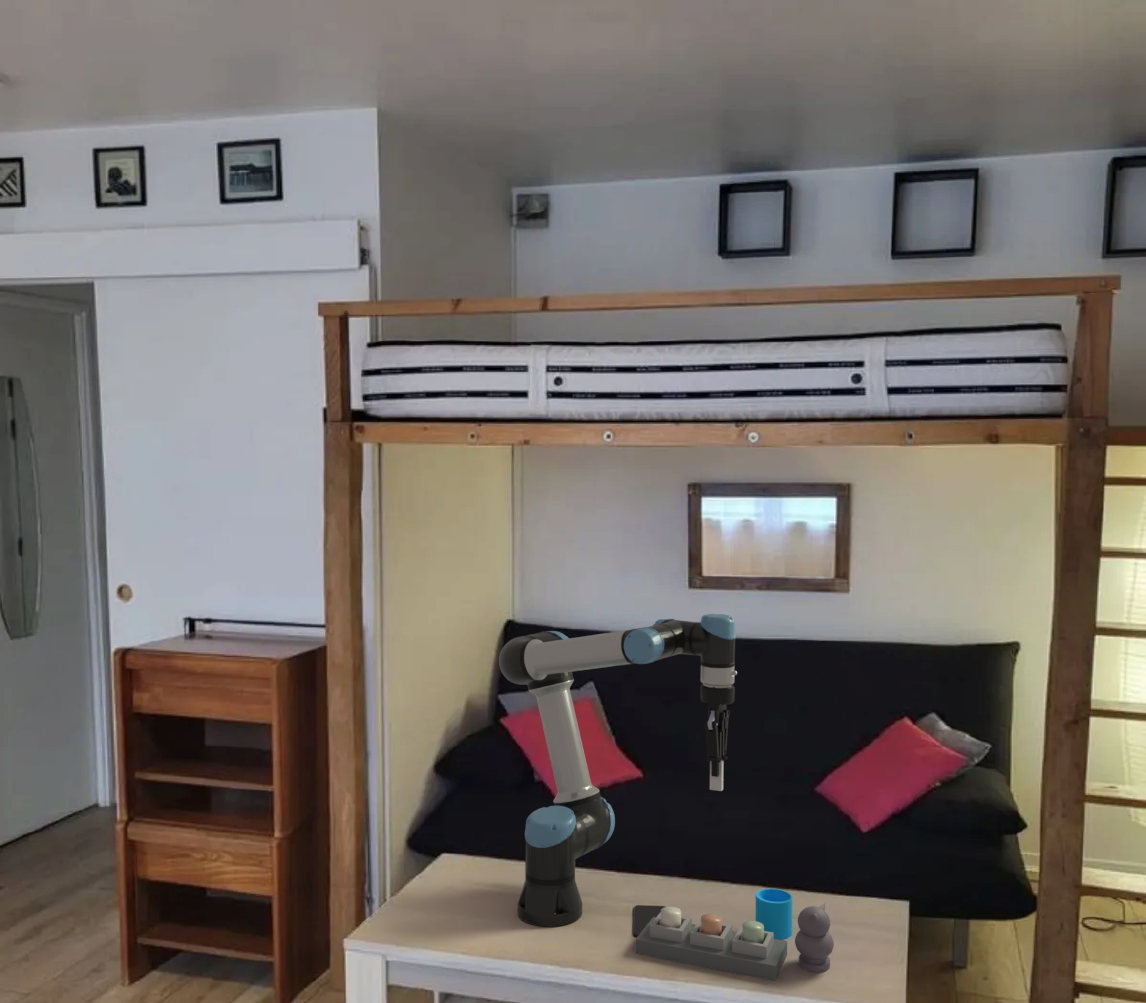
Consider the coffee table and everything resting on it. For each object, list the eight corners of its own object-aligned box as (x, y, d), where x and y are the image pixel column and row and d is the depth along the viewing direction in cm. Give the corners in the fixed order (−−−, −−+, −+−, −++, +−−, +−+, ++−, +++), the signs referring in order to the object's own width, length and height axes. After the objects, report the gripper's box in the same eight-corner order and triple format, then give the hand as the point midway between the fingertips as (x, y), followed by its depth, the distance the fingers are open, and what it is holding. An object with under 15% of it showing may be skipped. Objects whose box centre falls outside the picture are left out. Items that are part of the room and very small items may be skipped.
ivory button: (658, 931, 216) (658, 913, 216) (664, 923, 220) (664, 905, 220) (677, 935, 214) (677, 916, 214) (683, 927, 218) (683, 908, 218)
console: (635, 953, 214) (635, 928, 214) (653, 930, 225) (653, 906, 225) (775, 980, 203) (775, 954, 202) (787, 955, 214) (787, 930, 213)
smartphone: (668, 940, 221) (667, 909, 237) (668, 936, 221) (667, 905, 237) (632, 939, 222) (634, 908, 238) (632, 935, 222) (633, 904, 238)
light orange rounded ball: (698, 939, 213) (698, 920, 213) (704, 930, 217) (704, 912, 217) (718, 943, 211) (718, 924, 211) (724, 934, 215) (724, 915, 215)
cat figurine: (802, 952, 215) (802, 896, 215) (838, 960, 211) (838, 904, 211) (789, 968, 208) (789, 911, 207) (826, 978, 204) (827, 919, 203)
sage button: (740, 947, 209) (740, 928, 209) (745, 938, 213) (745, 919, 213) (761, 950, 207) (761, 931, 207) (765, 942, 211) (765, 923, 211)
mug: (789, 942, 219) (789, 905, 219) (752, 936, 222) (752, 900, 222) (797, 920, 231) (797, 885, 231) (761, 915, 234) (762, 880, 233)
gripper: (726, 691, 216) (725, 800, 216) (741, 680, 228) (740, 783, 228) (693, 688, 219) (691, 795, 219) (709, 677, 231) (708, 779, 231)
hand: (716, 789), depth 224 cm, fingers closed
